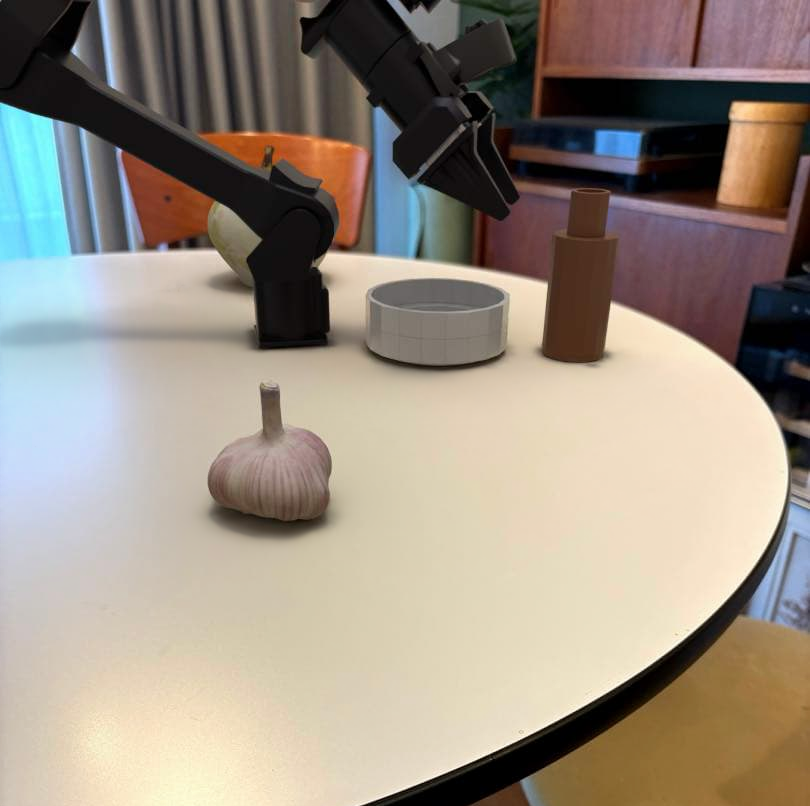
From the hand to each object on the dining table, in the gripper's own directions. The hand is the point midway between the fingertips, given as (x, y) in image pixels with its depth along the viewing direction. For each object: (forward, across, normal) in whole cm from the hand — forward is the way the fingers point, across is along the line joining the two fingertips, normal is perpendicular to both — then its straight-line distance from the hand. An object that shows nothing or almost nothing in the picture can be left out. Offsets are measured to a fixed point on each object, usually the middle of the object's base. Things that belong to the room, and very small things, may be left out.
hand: (511, 208), depth 72 cm
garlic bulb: (+2, -35, +16) cm, 39 cm away
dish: (+4, -1, +13) cm, 14 cm away
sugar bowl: (-12, +21, +30) cm, 38 cm away
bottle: (+13, 0, +4) cm, 14 cm away
